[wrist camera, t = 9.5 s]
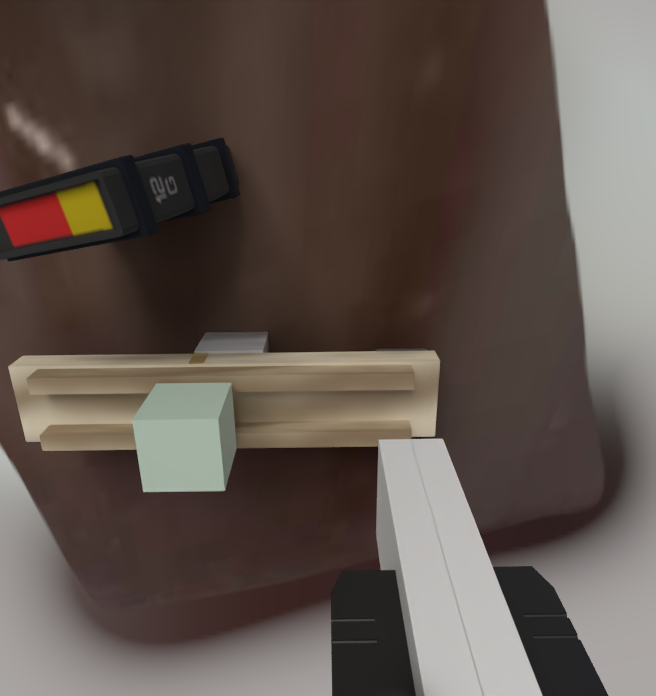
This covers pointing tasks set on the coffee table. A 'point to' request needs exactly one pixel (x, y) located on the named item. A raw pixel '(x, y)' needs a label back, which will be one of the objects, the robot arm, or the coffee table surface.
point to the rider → (186, 437)
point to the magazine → (114, 199)
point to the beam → (234, 394)
